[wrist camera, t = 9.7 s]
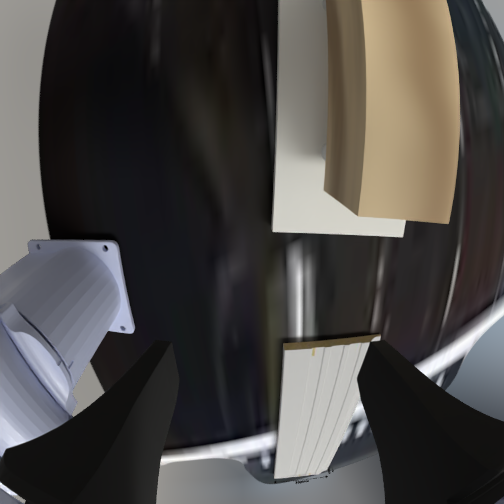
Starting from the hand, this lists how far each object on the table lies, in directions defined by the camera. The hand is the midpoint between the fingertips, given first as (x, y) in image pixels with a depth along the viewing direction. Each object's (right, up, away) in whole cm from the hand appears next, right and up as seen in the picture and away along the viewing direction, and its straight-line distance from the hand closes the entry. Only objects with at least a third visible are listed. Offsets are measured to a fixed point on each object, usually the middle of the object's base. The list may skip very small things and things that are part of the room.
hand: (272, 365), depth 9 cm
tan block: (+5, +14, +2) cm, 15 cm away
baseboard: (+7, -17, +19) cm, 26 cm away
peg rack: (+5, +15, +5) cm, 16 cm away
